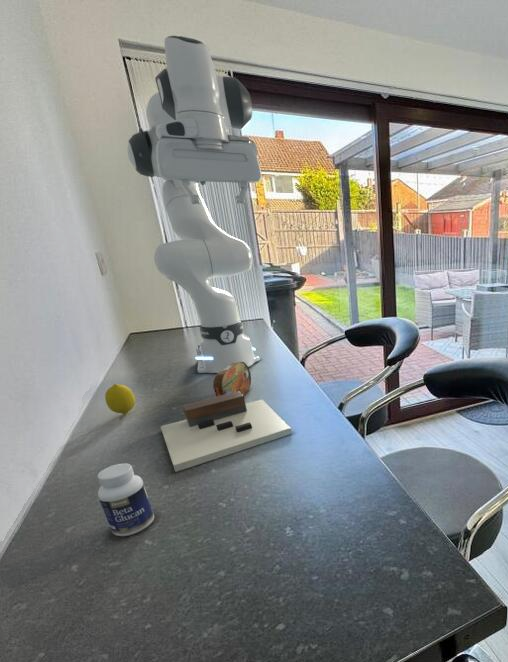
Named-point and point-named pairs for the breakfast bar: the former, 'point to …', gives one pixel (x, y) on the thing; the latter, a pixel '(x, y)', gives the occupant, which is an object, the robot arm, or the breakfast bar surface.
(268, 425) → the memo board
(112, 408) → the lemon
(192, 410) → the eraser
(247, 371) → the tin
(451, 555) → the breakfast bar surface
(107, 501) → the pill bottle
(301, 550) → the breakfast bar surface
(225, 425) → the stroke
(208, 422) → the stroke
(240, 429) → the stroke
